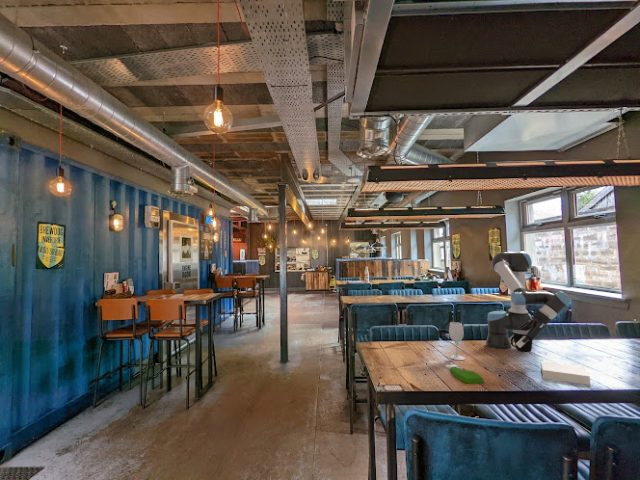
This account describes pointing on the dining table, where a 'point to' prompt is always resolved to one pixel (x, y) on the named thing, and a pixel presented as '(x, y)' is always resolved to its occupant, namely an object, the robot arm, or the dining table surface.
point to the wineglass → (456, 337)
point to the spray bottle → (465, 375)
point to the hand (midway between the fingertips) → (514, 343)
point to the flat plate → (565, 372)
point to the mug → (517, 336)
